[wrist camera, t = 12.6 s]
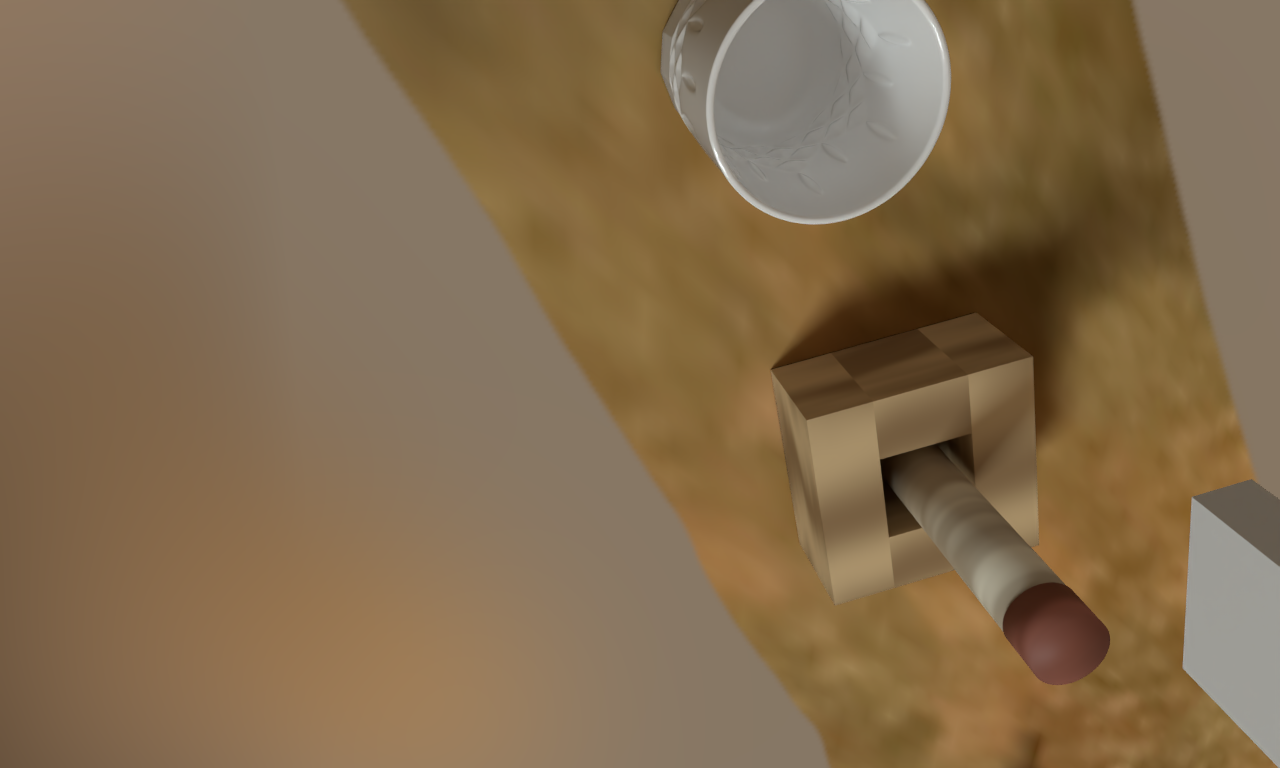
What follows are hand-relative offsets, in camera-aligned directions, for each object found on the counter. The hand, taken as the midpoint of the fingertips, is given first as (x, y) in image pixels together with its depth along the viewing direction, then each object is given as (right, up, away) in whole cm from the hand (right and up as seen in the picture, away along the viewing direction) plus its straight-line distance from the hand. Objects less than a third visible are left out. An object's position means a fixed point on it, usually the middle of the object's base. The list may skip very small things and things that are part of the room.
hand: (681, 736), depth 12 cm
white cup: (+4, +17, +28) cm, 33 cm away
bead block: (+11, +2, +37) cm, 39 cm away
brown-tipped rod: (+11, +2, +37) cm, 39 cm away
